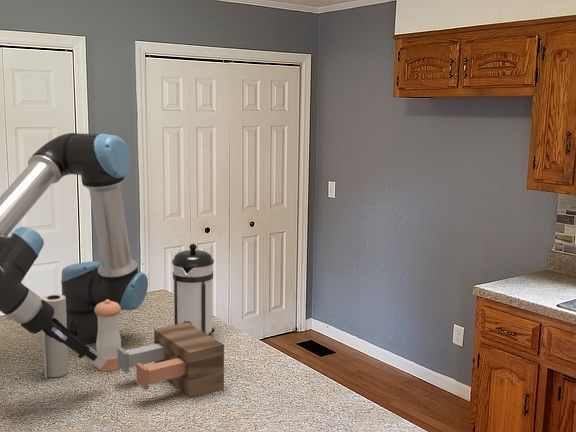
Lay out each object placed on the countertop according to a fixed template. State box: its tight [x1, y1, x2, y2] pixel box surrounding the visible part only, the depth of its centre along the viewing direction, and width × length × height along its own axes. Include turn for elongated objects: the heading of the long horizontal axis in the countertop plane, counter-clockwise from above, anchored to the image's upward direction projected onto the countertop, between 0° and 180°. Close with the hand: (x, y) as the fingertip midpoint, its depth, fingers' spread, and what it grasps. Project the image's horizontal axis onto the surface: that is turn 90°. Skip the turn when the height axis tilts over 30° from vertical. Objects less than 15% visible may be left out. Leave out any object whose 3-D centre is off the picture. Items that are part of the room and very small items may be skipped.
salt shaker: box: [94, 299, 122, 372], centre depth 174 cm, size 7×7×19 cm
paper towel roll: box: [41, 294, 69, 381], centre depth 168 cm, size 7×6×21 cm
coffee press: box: [171, 243, 215, 335], centre depth 198 cm, size 17×16×30 cm
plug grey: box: [117, 343, 165, 374], centre depth 166 cm, size 5×14×5 cm, turn 127°
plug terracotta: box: [135, 357, 186, 391], centre depth 157 cm, size 5×14×5 cm, turn 127°
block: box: [153, 323, 225, 399], centre depth 167 cm, size 20×10×12 cm, turn 37°
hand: (102, 363), depth 159 cm, fingers closed
